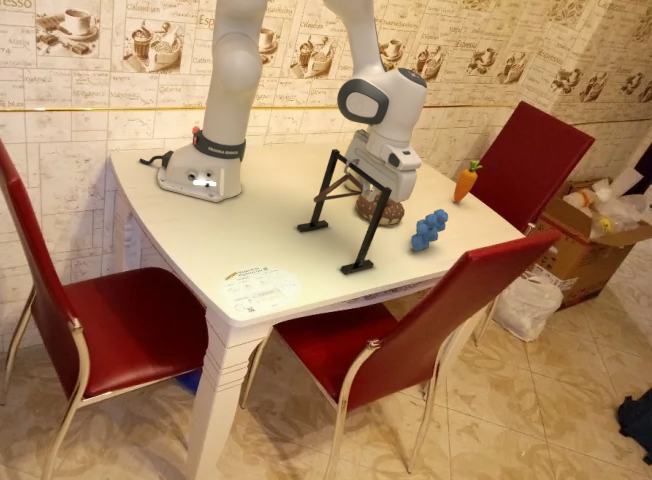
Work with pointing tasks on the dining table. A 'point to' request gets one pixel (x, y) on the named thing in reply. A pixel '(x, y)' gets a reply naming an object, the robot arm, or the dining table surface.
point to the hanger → (339, 182)
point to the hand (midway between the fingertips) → (367, 198)
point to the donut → (390, 214)
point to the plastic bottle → (357, 176)
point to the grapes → (429, 229)
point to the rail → (386, 191)
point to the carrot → (466, 181)
